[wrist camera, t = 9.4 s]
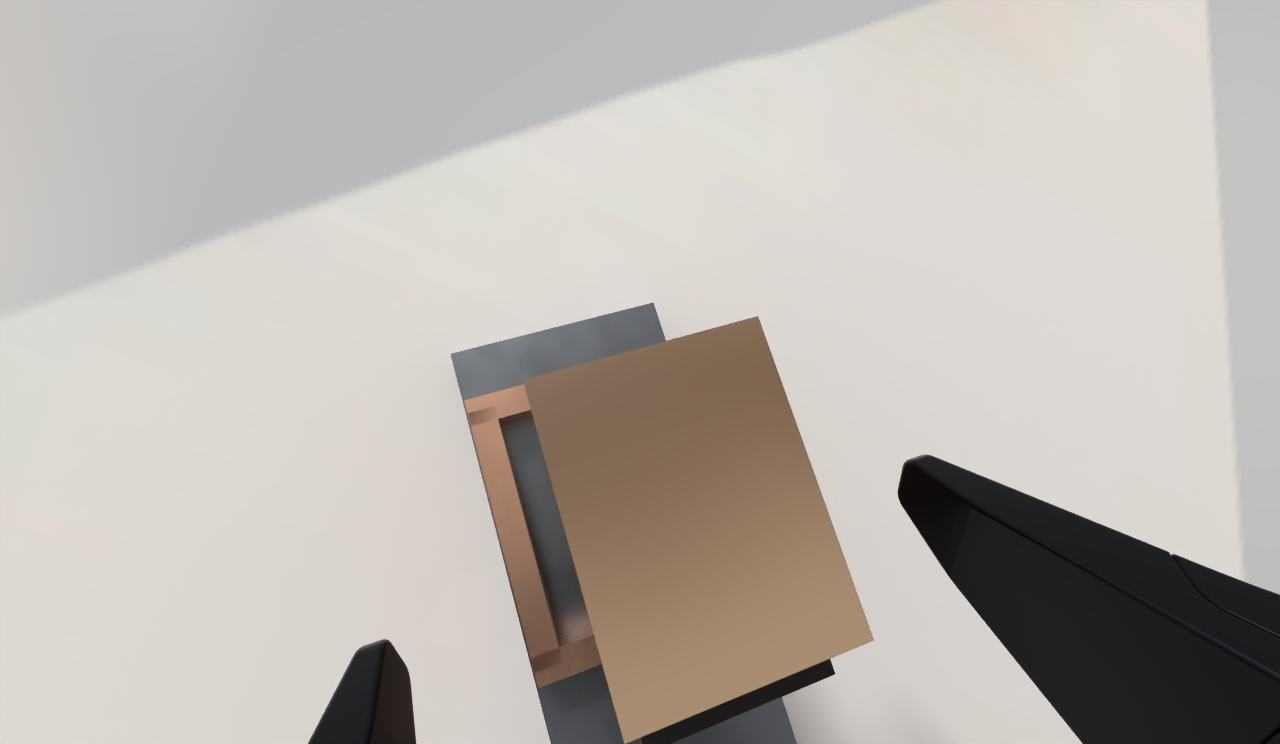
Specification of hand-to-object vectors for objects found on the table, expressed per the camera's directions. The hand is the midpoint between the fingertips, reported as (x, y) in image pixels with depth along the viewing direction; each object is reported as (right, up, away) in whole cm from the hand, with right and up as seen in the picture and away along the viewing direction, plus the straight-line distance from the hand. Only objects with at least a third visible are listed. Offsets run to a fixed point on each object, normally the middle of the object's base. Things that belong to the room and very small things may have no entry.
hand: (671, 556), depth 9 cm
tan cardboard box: (-2, -1, +9) cm, 9 cm away
